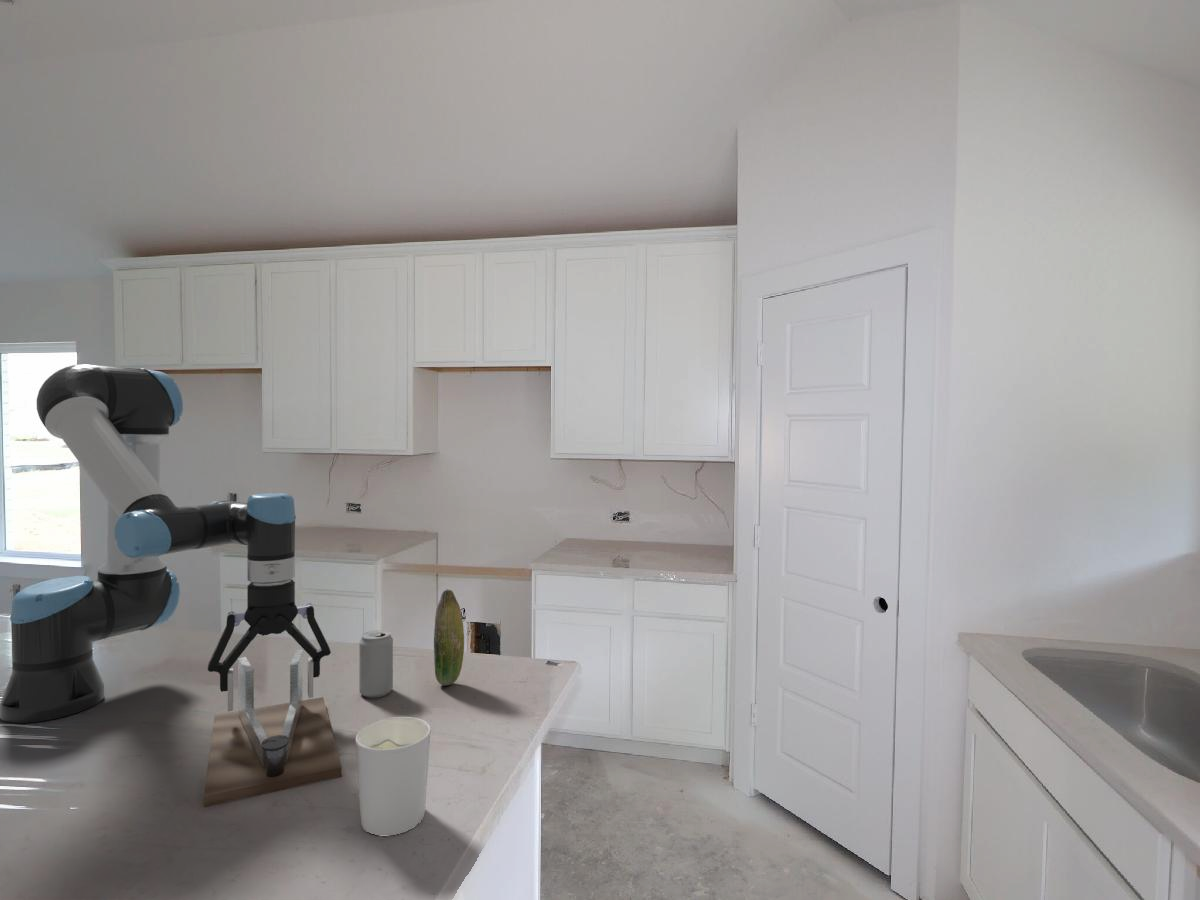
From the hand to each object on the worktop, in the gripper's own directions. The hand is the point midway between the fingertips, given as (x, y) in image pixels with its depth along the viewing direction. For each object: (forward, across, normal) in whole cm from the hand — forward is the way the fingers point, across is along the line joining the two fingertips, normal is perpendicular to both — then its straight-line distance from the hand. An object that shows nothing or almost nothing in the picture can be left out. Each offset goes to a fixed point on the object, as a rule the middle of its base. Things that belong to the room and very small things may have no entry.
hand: (271, 701), depth 116 cm
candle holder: (+5, +14, -38) cm, 41 cm away
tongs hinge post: (+3, 0, -21) cm, 21 cm away
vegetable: (+5, +33, +4) cm, 34 cm away
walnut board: (+4, 0, -9) cm, 10 cm away
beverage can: (+5, +19, +7) cm, 21 cm away
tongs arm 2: (+2, +3, -8) cm, 9 cm away
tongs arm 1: (+2, -3, -8) cm, 9 cm away
